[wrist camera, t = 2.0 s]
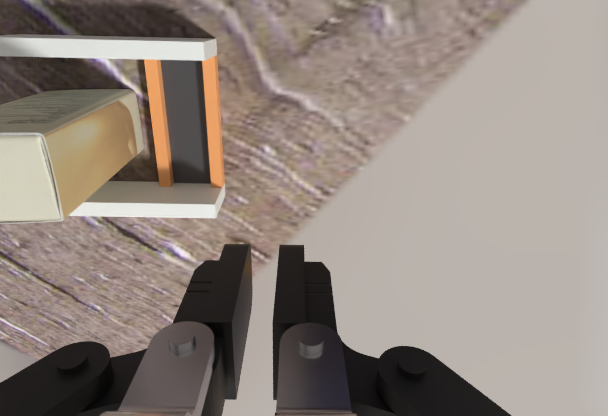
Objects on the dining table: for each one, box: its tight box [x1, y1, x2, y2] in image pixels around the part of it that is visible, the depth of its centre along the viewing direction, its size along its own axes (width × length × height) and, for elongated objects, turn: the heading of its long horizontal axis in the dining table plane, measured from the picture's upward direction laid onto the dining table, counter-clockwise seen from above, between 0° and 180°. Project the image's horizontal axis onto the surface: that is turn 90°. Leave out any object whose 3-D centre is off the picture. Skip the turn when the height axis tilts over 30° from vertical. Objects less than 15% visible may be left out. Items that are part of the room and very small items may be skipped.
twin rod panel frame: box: [0, 34, 225, 218], centre depth 28 cm, size 11×12×4 cm
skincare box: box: [0, 89, 144, 224], centre depth 24 cm, size 6×4×12 cm
